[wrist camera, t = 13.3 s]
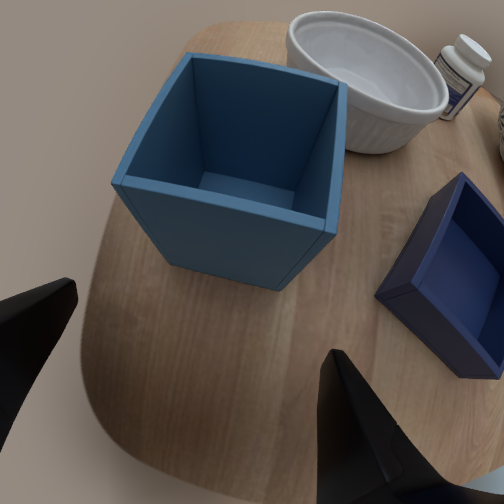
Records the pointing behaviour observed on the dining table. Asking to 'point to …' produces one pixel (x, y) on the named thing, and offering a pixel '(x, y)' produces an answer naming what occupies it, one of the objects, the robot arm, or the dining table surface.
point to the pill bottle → (461, 72)
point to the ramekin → (370, 77)
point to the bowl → (501, 129)
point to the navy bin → (454, 281)
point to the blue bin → (238, 168)
